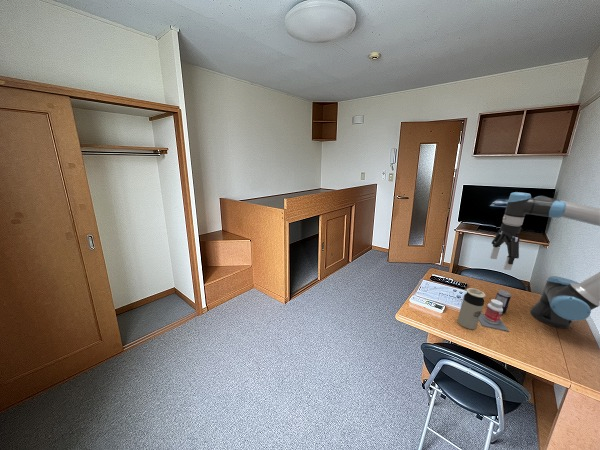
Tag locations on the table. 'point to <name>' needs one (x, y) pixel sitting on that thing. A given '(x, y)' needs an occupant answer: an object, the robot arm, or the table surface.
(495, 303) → the pill bottle
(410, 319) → the table surface
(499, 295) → the beverage can
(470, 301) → the travel mug
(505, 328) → the coaster
